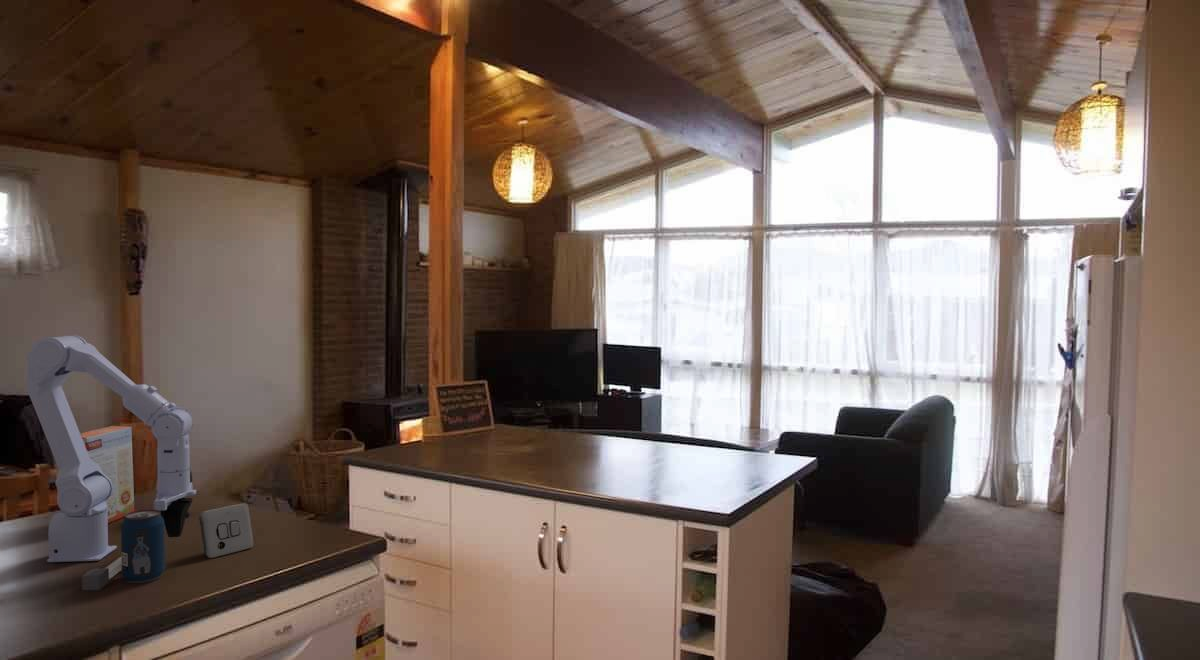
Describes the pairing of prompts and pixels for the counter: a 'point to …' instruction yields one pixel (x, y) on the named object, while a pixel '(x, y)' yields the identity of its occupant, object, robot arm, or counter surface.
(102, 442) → the cracker box
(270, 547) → the counter surface
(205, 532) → the electrical switch
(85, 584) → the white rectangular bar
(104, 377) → the robot arm
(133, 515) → the soda can
